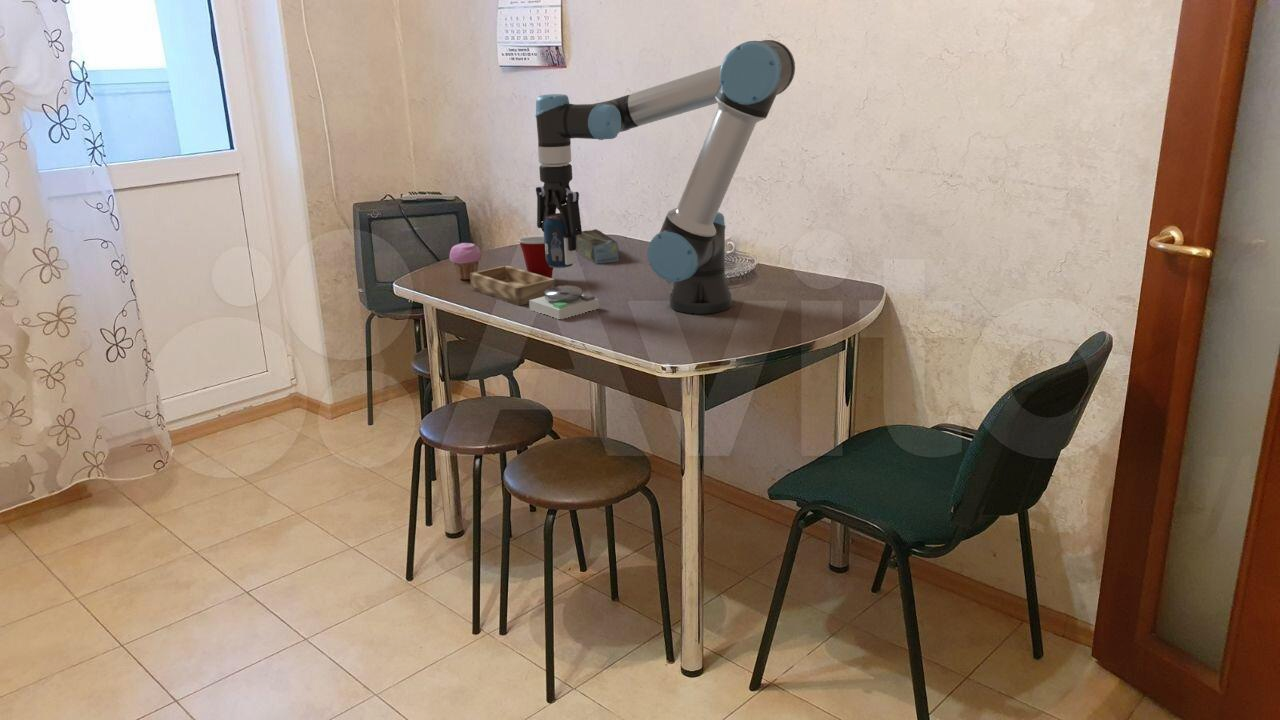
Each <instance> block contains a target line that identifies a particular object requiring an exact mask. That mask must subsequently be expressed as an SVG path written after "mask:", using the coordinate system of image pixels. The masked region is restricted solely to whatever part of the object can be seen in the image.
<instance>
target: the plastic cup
mask: <svg viewBox="0 0 1280 720" xmlns="http://www.w3.org/2000/svg"><path fill="white" fill-rule="evenodd" d="M517 242H518V243H519V245H520V248H521V252H522V255H523V258H524V262H525V267H526V268H525V269H526V271H528V272H532V273H535V274H539V275H542V276H546V277H549V278H552V279H553V270H554V268H553V267H550V266H549V264H548V263H547V261H546V252H545V243H544V235H543V236H528V237H521V238H519V239H517Z"/></svg>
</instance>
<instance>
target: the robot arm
mask: <svg viewBox="0 0 1280 720" xmlns="http://www.w3.org/2000/svg"><path fill="white" fill-rule="evenodd" d="M794 59H795V58H794V55H793V53H792V51H791V50H790V49H789V48H788V47H787V46H786V45H785V44H783V43H781V42H779V41H777V40H773V39H765V40H764V39H763V40H750V41H745V42H742V43H740V44H738V45H737V46H736V47H734V48H732V49H731V50H730V51H729V52H728V53H727V54H726V55H725V57H724V59H723V60H722V62H721V65H718V66H714V67H712V68H709V69H705V70H702V71H698V72H695V73H692V74H689V75H685V76H684V77H680V78H676V79H674V80H671V81H670V80H669V81H667V82H664V83H661V84H658V85H654V86H651V87H647V88H646V89H641V90H639V91H637V92H632V93H630V94H626V95H623V96H620V97H617V98H613V99H611V100H606V101H600V102H595V103H588V104H585V103H583V104H580V103H579V104H575V103H574V104H573V103H570V99H569V96H568V95H567V94H565V93H563V94H562V93H557V94H555V93H552V94H549V93H548V94H542V95H539V96H537V98H536V99H535V118H536V131H537V141H538V142H537V153H538V155H537V156H538V163H539V164H540V166H539V179H540V182H541V183H543V186H537V187H536V188H535V193H536V197H537V198H536V202H537V203H536V206H537V207H536V211H537V212H536V213H537V214H536V216H537V217H536V218H537V219H536V226H537V228H538V229H541V231H542V232H543V236H544V243H545V232H544V222H545V220H546V216H547V215H551V214H555V213H556V212H557V210H558V211H559V213H560V215H561V219H562V222H563V226H564V230H565V234H566V235H565V236H564V252H565V264H566V265H569V264H573V265H574V264H576V263H577V258H576V256H577V254H576V252H577V251H576V236H577V235H580V234H582V231H583V230H582V222H581V213H580V206H579V201H580V192H578V191H575V192H574V191H572V190H571V187H570V182H571V181H572V180H573V166H572V165H571V162H572V149H571V144H572V143H571V139H585V140H586V139H588V140H598V141H599V140H600V141H602V140H613V139H616V138H617V137H618V134H620V133H623V132H626V131H629V130H631V129H634V128H638V127H641V126H645V125H646V124H650V123H654V122H658V121H661V120H665V119H668V118H670V117H675V116H677V115H681V114H682V115H683V114H684V113H688V112H692V111H694V110H695V111H696V110H698V109H701V108H705V107H708V106H712V105H716V104H717V105H718V106H717V107H718V108H717V109H716V112H715V114H714V118H713V119H712V122H711V124H710V126H709V129H708V132H707V134H706V137H705V140H704V141H703V144H702V147H701V150H700V151H699V154H698V156H697V158H696V161H695V164H694V166H693V169H692V170H691V173H690V175H689V178H688V180H687V183H686V185H685V187H684V190H683V192H682V195H681V197H680V199H679V202H678V205H677V207H676V208H673V209H670V210H669V211H667V214H666V216H665V218H664V221H663V223H662V227H661V228H660V231H659V232H658V233H657V234H655V235H654V236H653V237H652V239H651V240H650V241H649V243H648V246H647V250H646V252H647V253H646V254H647V261H648V263H649V265H650V268H651V270H652V271H653V272H654V274H656V275H657V276H658V277H659V278H661V279H663V280H665V281H668V282H671V283H672V282H673V286H672V291H671V293H670V295H669V307H670V309H672V310H674V311H676V312H679V313H684V312H685V314H692V313H694V314H693V315H697V314H698V315H699V314H701V315H703V314H704V315H705V314H715V313H719V312H724V311H726V310H728V309H730V308H731V307H732V306H733V297H732V293H731V292H730V289H729V285H728V284H729V283H728V281H727V278H726V277H727V276H726V274H725V270H726V269H725V268H726V267H725V265H726V263H725V261H726V256H725V255H726V253H725V252H726V251H725V250H726V249H725V248H726V246H725V245H726V244H725V243H726V233H725V231H726V224H725V216H724V214H723V213H721V212H719V210H720V207H721V205H722V203H723V200H724V198H725V196H726V194H727V191H728V189H729V186H730V184H731V182H732V179H734V178H733V177H734V175H735V174H736V170H737V169H738V166H739V164H740V161H741V158H742V157H743V155H744V152H745V149H746V147H747V145H748V142H749V141H750V138H751V136H752V133H753V131H754V129H755V127H756V124H758V123H759V122H761V121H763V120H766V119H767V117H768V115H769V113H770V111H771V108H772V106H773V104H774V102H775V99H776V97H777V96H778V95H780V94H782V93H783V92H785V91H786V90H787V89H788V87H789V86H790V85H791V84H792V81H793V80H794V77H795V74H796V62H795V60H794ZM545 252H546V249H545Z"/></svg>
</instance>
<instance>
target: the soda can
mask: <svg viewBox="0 0 1280 720" xmlns="http://www.w3.org/2000/svg"><path fill="white" fill-rule="evenodd" d="M544 232H545V249H546V261H547V263H548V264H549V266H550V267H553V269H566V268H569V267H570V268H571V267H572V266H573V265H574V263H573V264H569V265H566V264H565V252H564V236H565V235H566V234H565V230H564V226H563V222H562V219H561V215H560V212H557V213H555V214H551V215H547V216H546V220H545V222H544ZM544 232H543V233H544Z"/></svg>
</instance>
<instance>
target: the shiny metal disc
mask: <svg viewBox="0 0 1280 720" xmlns="http://www.w3.org/2000/svg"><path fill="white" fill-rule="evenodd" d="M582 295H583V290H582V288H581V287H579V286H575V285H558V286H556V285H555V287H551V288H548V289H546V290H545V299H546V300H549V301H554V302H567V301H573V300H577V299H579V298H581V297H582Z"/></svg>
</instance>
